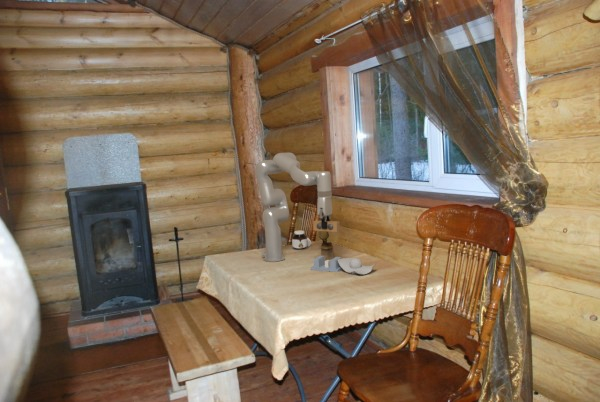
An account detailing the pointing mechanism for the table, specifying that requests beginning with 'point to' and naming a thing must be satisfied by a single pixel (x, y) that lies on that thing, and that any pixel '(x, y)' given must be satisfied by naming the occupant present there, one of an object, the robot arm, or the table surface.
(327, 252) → the wooden mug
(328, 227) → the tan wooden plank
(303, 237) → the spread jar
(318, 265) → the display stand
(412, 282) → the table surface
